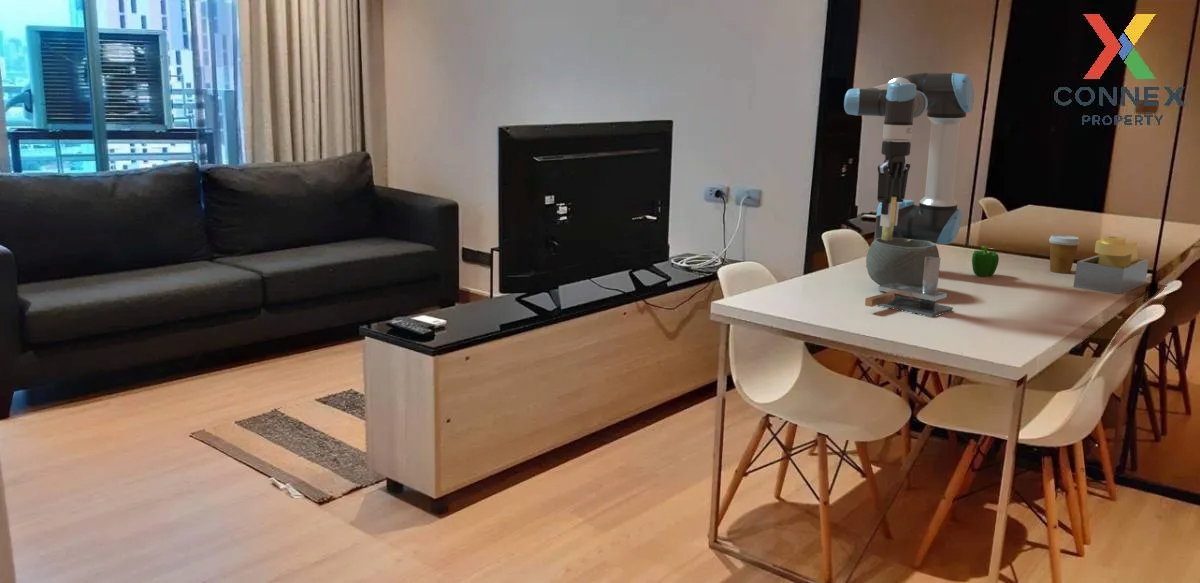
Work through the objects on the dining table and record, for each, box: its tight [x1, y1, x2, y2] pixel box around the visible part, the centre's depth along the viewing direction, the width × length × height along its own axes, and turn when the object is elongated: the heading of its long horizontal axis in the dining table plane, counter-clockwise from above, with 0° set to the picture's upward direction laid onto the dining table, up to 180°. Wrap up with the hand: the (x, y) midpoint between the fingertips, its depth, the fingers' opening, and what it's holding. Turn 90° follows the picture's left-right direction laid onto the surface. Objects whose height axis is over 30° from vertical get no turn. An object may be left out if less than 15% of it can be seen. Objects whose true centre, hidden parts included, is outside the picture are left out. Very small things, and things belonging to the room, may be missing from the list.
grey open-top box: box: [1073, 254, 1150, 295], centre depth 297 cm, size 14×24×8 cm, turn 134°
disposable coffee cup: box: [1048, 234, 1081, 274], centre depth 316 cm, size 10×10×12 cm
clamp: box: [1094, 235, 1139, 268], centre depth 296 cm, size 20×9×16 cm, turn 134°
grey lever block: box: [864, 256, 954, 318], centre depth 255 cm, size 18×22×15 cm
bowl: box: [865, 238, 940, 288], centre depth 280 cm, size 21×21×15 cm
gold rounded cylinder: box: [881, 196, 897, 240], centre depth 259 cm, size 3×3×12 cm
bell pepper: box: [971, 245, 1000, 277], centre depth 307 cm, size 8×8×10 cm
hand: (888, 225), depth 259 cm, fingers closed on gold rounded cylinder, 3 cm apart
